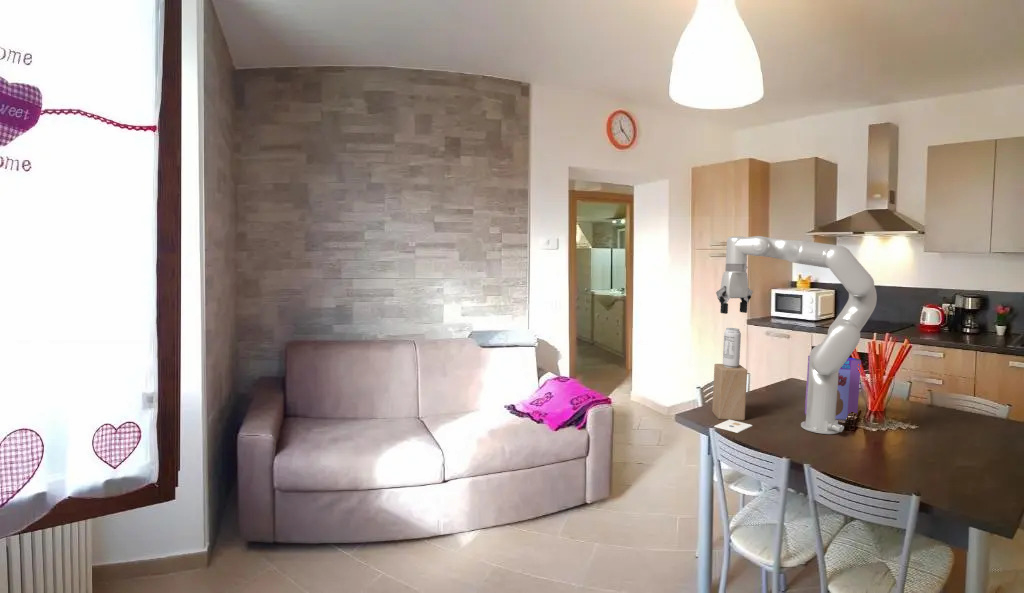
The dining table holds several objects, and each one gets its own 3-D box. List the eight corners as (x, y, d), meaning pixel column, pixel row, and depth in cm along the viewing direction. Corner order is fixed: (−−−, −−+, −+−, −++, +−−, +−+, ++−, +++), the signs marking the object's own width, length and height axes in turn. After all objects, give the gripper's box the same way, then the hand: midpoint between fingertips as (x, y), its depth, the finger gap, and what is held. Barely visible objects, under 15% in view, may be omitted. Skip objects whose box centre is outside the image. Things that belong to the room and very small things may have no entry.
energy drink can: (742, 367, 221) (744, 329, 220) (730, 368, 219) (732, 330, 218) (731, 364, 227) (733, 327, 225) (719, 365, 225) (721, 327, 223)
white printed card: (752, 425, 214) (752, 424, 214) (737, 432, 206) (737, 431, 206) (729, 420, 220) (729, 419, 220) (714, 426, 212) (714, 425, 212)
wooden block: (737, 413, 230) (739, 364, 228) (745, 420, 220) (747, 369, 218) (711, 412, 231) (714, 363, 229) (718, 419, 221) (720, 368, 219)
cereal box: (807, 417, 226) (811, 357, 223) (804, 413, 230) (808, 355, 228) (856, 421, 222) (861, 360, 219) (852, 417, 226) (856, 357, 224)
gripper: (745, 268, 226) (743, 311, 228) (711, 268, 219) (709, 312, 221) (760, 269, 219) (758, 313, 221) (725, 269, 212) (723, 315, 214)
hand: (733, 312), depth 221 cm, fingers open, 9 cm apart
